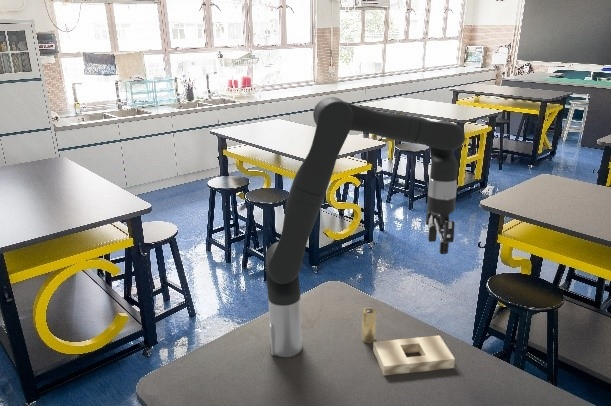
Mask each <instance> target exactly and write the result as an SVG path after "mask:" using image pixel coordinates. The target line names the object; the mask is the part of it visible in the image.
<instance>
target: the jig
mask: <svg viewBox="0 0 611 406" xmlns="http://www.w3.org/2000/svg"><path fill="white" fill-rule="evenodd" d="M372 345H373V346H372V347H373V348H372V350H373V353H374V356H375V358H376V360H377V363H378V365H379V367H380V371H381V372H382V376H390V375H391V376H392V375H400V374H409V373H419V372H429V371H437V370H448V369H455V363H456V362H455V361H456V358H455V357H454V355H453V354H452V352H451V351H450V349H449V348H448V346H447V345H446V343H445V342H444V340H443V338H442V337H441V335H431V336H430V335H429V336H428V335H427V336H421V337H410V338H400V339H399V338H398V339H390V340H379V341H375V342H373V343H372ZM412 353H418V354H419V355H417V356H407V355H406V354H412Z"/></svg>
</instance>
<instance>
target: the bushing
mask: <svg viewBox="0 0 611 406" xmlns="http://www.w3.org/2000/svg"><path fill="white" fill-rule="evenodd" d="M376 319H377V310H376V309H375V308H373V307H369V306H368V307H364V308H363V309H362V319H361V321H362V322H361V341H362V342H364V343H365V344H373V342H376V326H377V324H376V322H377V320H376Z"/></svg>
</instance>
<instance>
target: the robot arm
mask: <svg viewBox="0 0 611 406" xmlns="http://www.w3.org/2000/svg"><path fill="white" fill-rule="evenodd" d="M312 114H313V115H312V116H313V120H314V123H315V125H316V127H315V131H314V136H313V139H312V142H311V146H310V148H309V151H308V153H307V155H306V157H305V158H304V160H303V162H302V163H301V165H300V166H299V168H298V169H297V171H296V173H295V176H294V178H293V180H292V183H291V186H290V189H289V193H288V195H287V198H286V199H287V200H286V203H285V210H284V217H283V223H282V224H283V225H282V231H281V233H280V234H281V235H280V238H279V240H278V241H276V242H274V243H272V244H271V245H270V246H269V247H268V249H267V250H266V253H265V269H266V272H265V273H266V287H267V298H268V299H267V300H268V316H269V317H268V324H269V341H270V343H269V344H270V352H271V353H270V354H271V356H277V357H278V358H279V357H280V358H291V357H295V356H296V355H298V354H300V352H301V351H302V349H303V339H302V336H303V335H302V303H301V285H300V275H299V274H300V272H301V269H302V268H301V267H302V265H303V261H304V260H303V259H304V255H305V251H306V247H307V244H308V241H309V237H310V236H311V233H312V231H313V228H314V225H315V223H316V221H317V218H318V216H319V213H320V210H321V208H322V206H323V203H324V200H325V196H326V194H327V192H328V188H329V184H330V183H331V178H332V176H333V173H334V170H335V166H336V163H337V159H338V157H339V155H340V152H341V150H342V148H343V145H344V144H345V141H346V140H347V138H348V136H349V134H350V131H352V132H353V131H355V132H361V133H362V132H363V133H366V134H371V135H375V136H378V137H381V138H385V139H389V140H392V141H396V142H397V141H398V142H402V143H409V144H417V145H424V146H427V147H429V153H430V154H429V155H430V159H431V163H430V164H431V165H430V171H429V172H430V175H429V182H428V187H427V188H428V190H427V204H426V215H425V216H426V217H425V225H426V226H427V230H428V234H427V235H428V236H427V240H428V242H430V243H434V242H437V234H438V235H439V240H440V242H439V254H440V255H447V254H448V252H449V247H450V246H449V244H450V243H454V239H455V238H454V237H455V224H456V223H455V221H454V220H453V221H452V220H450V214H451V213H453V212H454V211H455V210H456V199H457V188H458V185H457V176H458V168H459V165H458V160H457V159H456V157H455V155H454V151H455V150H457V149H459V148H461V147H462V145H463V144H464V143H465V140H466V139H465V138H466V134H465V131H464V130H463V128H462V127H461V126H459V124H457V123H454V122H451V121H450V120H447V119H446V120H443V119H442V120H438V121H434V120H429V119H427V118H424V117H420V116H417V115H416V116H415V115H411V114H403V113H396V112H391V111H383V110H376V109H372V108H371V109H370V108H367V107H363V106H359V105H355V104H352V103H350V102H347V101H344V100H343V99H341V98H339V97H334V96H329V97H324V98H323V99H321V100H319V101H317V103H316V105H315V106H314V108H313V113H312Z"/></svg>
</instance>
